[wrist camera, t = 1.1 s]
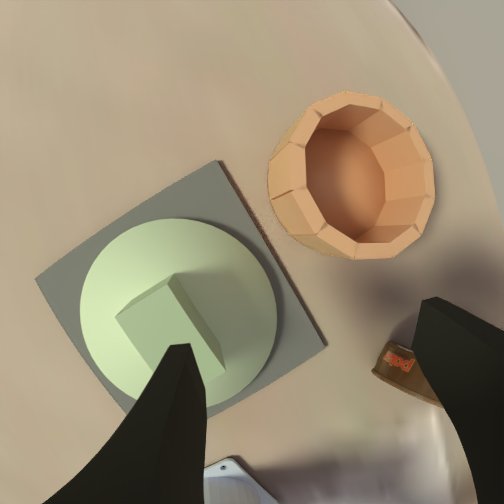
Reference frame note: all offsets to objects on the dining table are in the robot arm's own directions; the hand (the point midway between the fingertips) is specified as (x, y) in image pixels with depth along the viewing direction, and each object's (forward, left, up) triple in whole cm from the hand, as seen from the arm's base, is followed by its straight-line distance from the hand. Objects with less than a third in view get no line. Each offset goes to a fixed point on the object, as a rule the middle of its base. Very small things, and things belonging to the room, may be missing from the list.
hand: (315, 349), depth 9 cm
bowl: (+8, +3, -11) cm, 14 cm away
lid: (-5, +1, -11) cm, 12 cm away
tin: (+9, -14, -11) cm, 20 cm away
